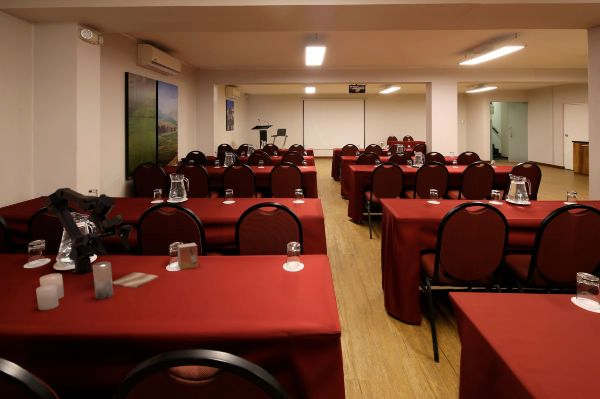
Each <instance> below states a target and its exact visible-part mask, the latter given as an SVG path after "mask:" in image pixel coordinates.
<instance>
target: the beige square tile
mask: <svg viewBox="0 0 600 399" xmlns="http://www.w3.org/2000/svg"><path fill="white" fill-rule="evenodd" d="M157 278H159V275H156V274H148V273H143V272H137V271H134V272H132V273H130V274H126V275H125V276H121V277H119V278H118V279H115V280H112V284H113V285H115V286H120V287H126V288H131V289H137V288H139V287H141V286H143V285H145V284H147V283H149V282H151V281H154V280H156V279H157Z"/></svg>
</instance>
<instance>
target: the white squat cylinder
mask: <svg viewBox="0 0 600 399" xmlns="http://www.w3.org/2000/svg"><path fill="white" fill-rule="evenodd" d="M35 291H36V299H37V307H38V310H40V311H48V310H52V309H55V308H57V307H58V306H59V305H60V304H59V299H58V295H57V286H56V285H53V284H50V285H44V286H39V287H37V288H36V289H35Z"/></svg>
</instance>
